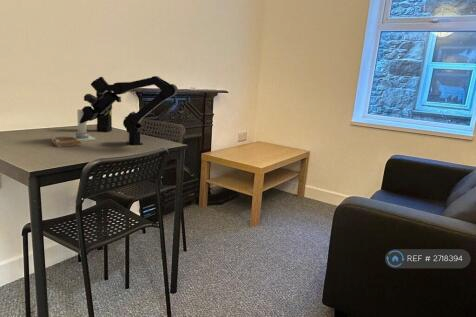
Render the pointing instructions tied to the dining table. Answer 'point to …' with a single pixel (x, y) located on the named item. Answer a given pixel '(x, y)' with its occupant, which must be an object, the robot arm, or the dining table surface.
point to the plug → (81, 127)
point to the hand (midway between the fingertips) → (84, 121)
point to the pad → (85, 139)
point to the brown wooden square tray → (66, 141)
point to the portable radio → (104, 119)
